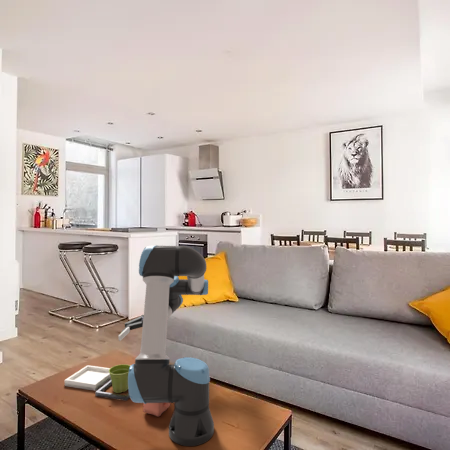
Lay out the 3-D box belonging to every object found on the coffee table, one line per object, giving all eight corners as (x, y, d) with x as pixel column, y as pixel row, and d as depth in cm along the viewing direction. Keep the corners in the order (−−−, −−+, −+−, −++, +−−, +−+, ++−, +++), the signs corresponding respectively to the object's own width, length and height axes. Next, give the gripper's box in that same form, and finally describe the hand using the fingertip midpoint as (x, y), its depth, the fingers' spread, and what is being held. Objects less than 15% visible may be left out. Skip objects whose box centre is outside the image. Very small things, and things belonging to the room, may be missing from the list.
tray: (95, 390, 136) (95, 384, 136) (64, 385, 140) (64, 379, 140) (115, 374, 150) (115, 369, 150) (87, 370, 154) (87, 365, 154)
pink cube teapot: (148, 401, 128) (149, 380, 128) (175, 409, 123) (175, 387, 123) (136, 412, 121) (136, 390, 121) (163, 420, 116) (163, 397, 116)
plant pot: (125, 396, 131) (125, 375, 131) (103, 394, 133) (104, 372, 133) (136, 385, 141) (136, 365, 141) (116, 383, 142) (116, 363, 142)
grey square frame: (126, 400, 128) (126, 397, 128) (95, 395, 132) (95, 392, 132) (143, 383, 142) (143, 380, 142) (115, 379, 145) (115, 376, 145)
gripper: (183, 328, 154) (156, 360, 136) (140, 313, 163) (109, 341, 145) (182, 315, 151) (155, 345, 133) (139, 301, 160) (108, 327, 142)
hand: (131, 343), depth 139 cm, fingers open, 13 cm apart
